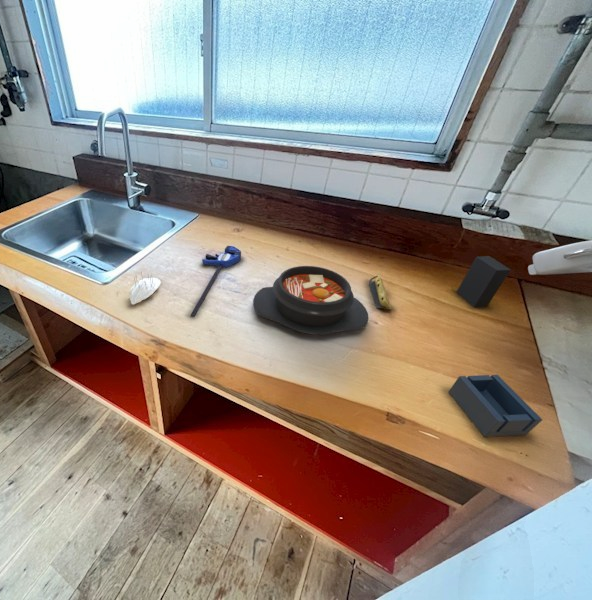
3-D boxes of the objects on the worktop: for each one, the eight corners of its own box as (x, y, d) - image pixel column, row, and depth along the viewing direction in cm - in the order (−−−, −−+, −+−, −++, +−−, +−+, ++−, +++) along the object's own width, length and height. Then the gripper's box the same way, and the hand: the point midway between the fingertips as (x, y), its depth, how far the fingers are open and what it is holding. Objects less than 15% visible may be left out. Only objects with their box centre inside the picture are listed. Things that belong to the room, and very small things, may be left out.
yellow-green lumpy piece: (371, 284, 85) (383, 279, 83) (379, 317, 74) (393, 312, 73) (365, 275, 84) (377, 270, 82) (372, 307, 73) (386, 301, 72)
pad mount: (526, 435, 49) (543, 419, 47) (484, 437, 49) (498, 421, 47) (484, 390, 56) (497, 374, 53) (448, 391, 56) (459, 375, 53)
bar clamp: (211, 242, 99) (243, 246, 96) (211, 249, 100) (243, 254, 97) (169, 306, 76) (209, 315, 73) (170, 314, 77) (209, 323, 74)
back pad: (486, 306, 74) (511, 269, 68) (473, 307, 74) (497, 270, 68) (468, 291, 78) (489, 255, 72) (456, 292, 78) (476, 256, 72)
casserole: (248, 332, 70) (251, 301, 65) (256, 284, 84) (259, 256, 79) (373, 349, 64) (387, 317, 59) (358, 296, 79) (369, 266, 74)
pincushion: (148, 278, 88) (146, 260, 85) (167, 283, 86) (166, 265, 83) (122, 302, 80) (118, 283, 77) (143, 308, 78) (140, 289, 74)
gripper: (602, 270, 43) (504, 289, 57) (755, 262, 43) (619, 283, 57) (591, 225, 44) (497, 255, 58) (740, 217, 44) (610, 248, 58)
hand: (558, 268), depth 57 cm, fingers open, 8 cm apart
